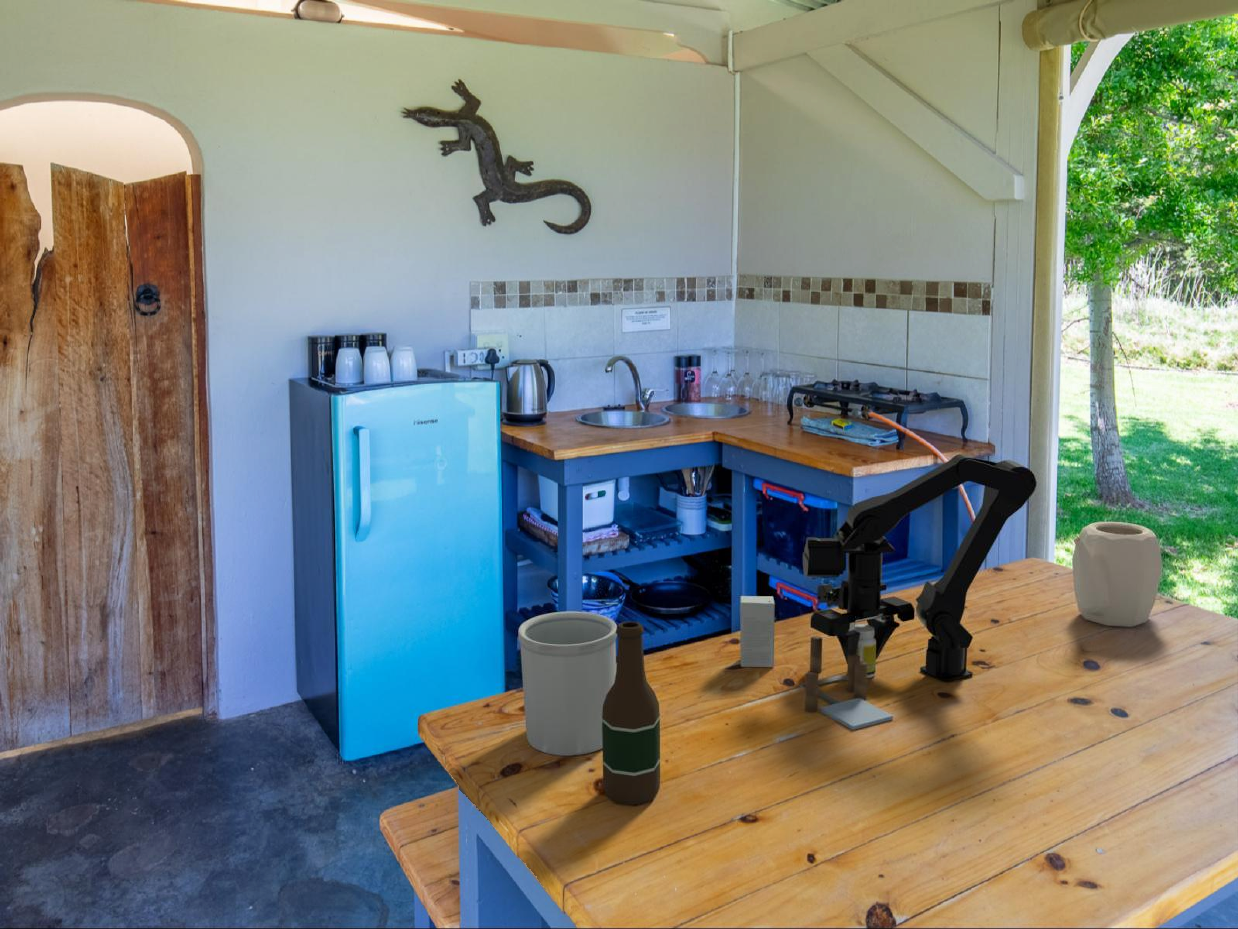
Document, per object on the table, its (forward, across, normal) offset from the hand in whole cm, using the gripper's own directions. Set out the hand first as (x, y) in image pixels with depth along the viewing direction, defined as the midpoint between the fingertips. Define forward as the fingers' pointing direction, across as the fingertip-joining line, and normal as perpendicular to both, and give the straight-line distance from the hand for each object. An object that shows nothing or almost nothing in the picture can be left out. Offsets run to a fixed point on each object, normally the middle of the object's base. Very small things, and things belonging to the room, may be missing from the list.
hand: (861, 662), depth 183 cm
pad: (+2, +12, +13) cm, 18 cm away
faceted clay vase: (+2, -61, +2) cm, 61 cm away
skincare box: (+2, +13, -13) cm, 19 cm away
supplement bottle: (+2, 0, 0) cm, 2 cm away
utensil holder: (+2, +55, -2) cm, 55 cm away
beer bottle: (+2, +55, +18) cm, 58 cm away
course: (+2, +11, +2) cm, 11 cm away
